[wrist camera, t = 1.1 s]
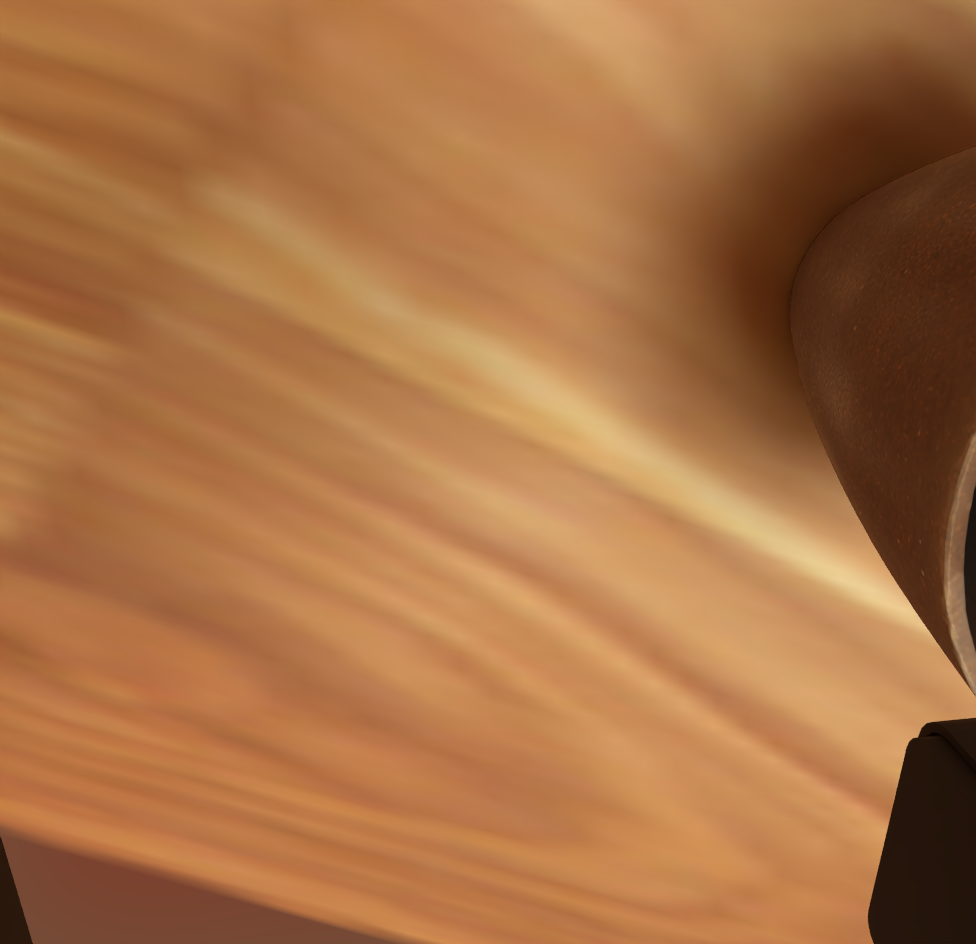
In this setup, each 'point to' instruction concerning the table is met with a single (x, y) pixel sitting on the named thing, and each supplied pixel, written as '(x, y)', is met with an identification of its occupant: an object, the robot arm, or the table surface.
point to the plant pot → (902, 382)
